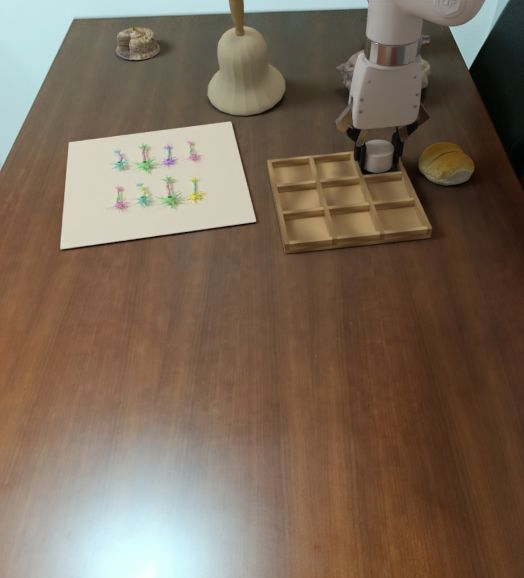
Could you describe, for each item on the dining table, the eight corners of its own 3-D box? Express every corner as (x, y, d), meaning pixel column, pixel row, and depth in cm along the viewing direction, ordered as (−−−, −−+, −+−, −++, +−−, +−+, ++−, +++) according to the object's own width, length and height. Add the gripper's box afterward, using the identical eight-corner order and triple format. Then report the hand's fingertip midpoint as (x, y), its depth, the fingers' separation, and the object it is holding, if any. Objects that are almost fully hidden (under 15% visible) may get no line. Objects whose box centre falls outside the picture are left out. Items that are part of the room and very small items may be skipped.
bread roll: (452, 151, 100) (457, 130, 97) (479, 180, 94) (485, 158, 91) (407, 161, 98) (411, 140, 95) (432, 191, 93) (437, 169, 90)
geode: (427, 125, 115) (384, 81, 121) (455, 80, 108) (408, 36, 114) (366, 121, 105) (324, 74, 112) (393, 72, 99) (346, 25, 105)
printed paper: (256, 223, 90) (256, 215, 89) (60, 251, 88) (57, 243, 87) (231, 123, 109) (230, 115, 108) (69, 143, 107) (67, 136, 105)
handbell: (291, 72, 117) (286, -64, 95) (280, 124, 110) (271, -10, 88) (217, 69, 119) (195, -65, 98) (201, 120, 112) (174, -11, 91)
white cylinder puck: (387, 154, 98) (390, 138, 95) (395, 171, 95) (397, 154, 92) (358, 157, 97) (360, 141, 95) (365, 174, 94) (366, 158, 92)
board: (393, 156, 100) (394, 146, 98) (430, 238, 86) (432, 228, 85) (267, 169, 99) (267, 159, 97) (284, 253, 85) (284, 244, 84)
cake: (144, 39, 134) (141, 14, 130) (170, 53, 130) (167, 27, 126) (106, 50, 130) (102, 24, 126) (132, 65, 125) (128, 38, 121)
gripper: (442, 30, 84) (421, 144, 98) (326, 41, 84) (321, 154, 98) (459, 54, 80) (434, 169, 94) (336, 65, 79) (330, 180, 93)
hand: (377, 160), depth 96 cm, fingers closed on white cylinder puck, 4 cm apart
